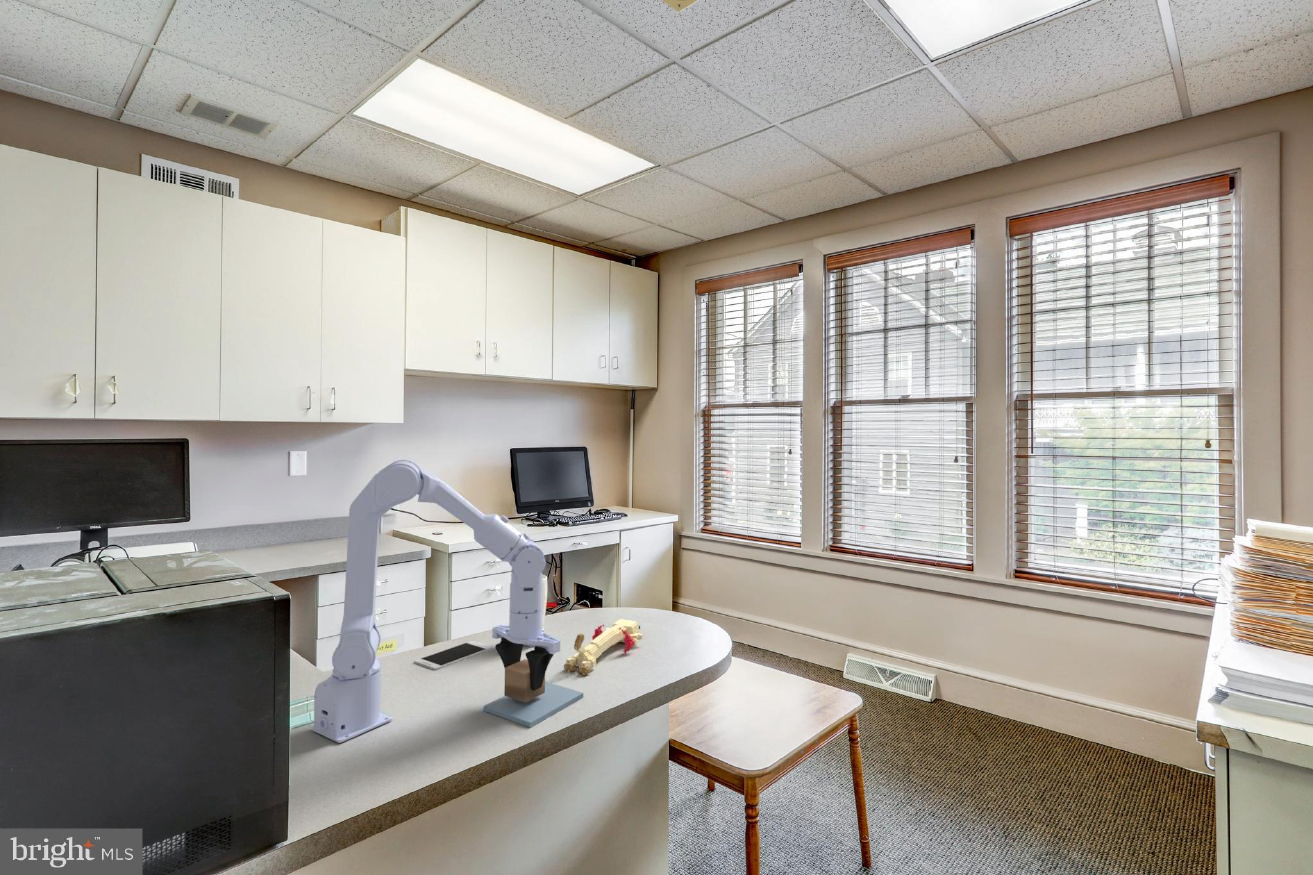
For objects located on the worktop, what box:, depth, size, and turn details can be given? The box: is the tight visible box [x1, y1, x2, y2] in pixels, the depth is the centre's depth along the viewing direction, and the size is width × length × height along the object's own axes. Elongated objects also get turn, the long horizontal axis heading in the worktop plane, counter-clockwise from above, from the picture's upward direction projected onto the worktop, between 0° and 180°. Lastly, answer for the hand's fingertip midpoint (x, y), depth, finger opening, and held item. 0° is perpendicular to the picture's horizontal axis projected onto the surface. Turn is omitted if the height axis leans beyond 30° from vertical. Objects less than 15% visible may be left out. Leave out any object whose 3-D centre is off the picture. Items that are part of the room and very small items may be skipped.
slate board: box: [482, 680, 584, 728], centre depth 114 cm, size 14×11×1 cm
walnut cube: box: [503, 658, 546, 703], centre depth 114 cm, size 5×5×5 cm
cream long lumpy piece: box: [563, 618, 644, 676], centre depth 139 cm, size 10×9×25 cm
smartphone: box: [413, 640, 494, 671], centre depth 137 cm, size 7×15×1 cm, turn 147°
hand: (524, 684), depth 114 cm, fingers closed on walnut cube, 5 cm apart
